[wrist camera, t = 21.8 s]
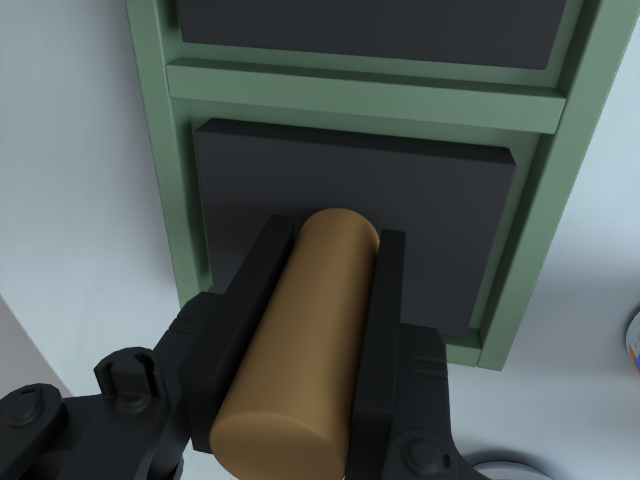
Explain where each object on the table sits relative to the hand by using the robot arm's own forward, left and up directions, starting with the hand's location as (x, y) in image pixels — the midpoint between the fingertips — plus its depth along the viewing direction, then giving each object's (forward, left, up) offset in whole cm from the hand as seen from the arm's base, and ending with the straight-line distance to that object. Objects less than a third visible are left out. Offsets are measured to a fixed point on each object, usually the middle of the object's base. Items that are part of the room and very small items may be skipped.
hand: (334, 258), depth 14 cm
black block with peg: (0, 0, -3) cm, 3 cm away
